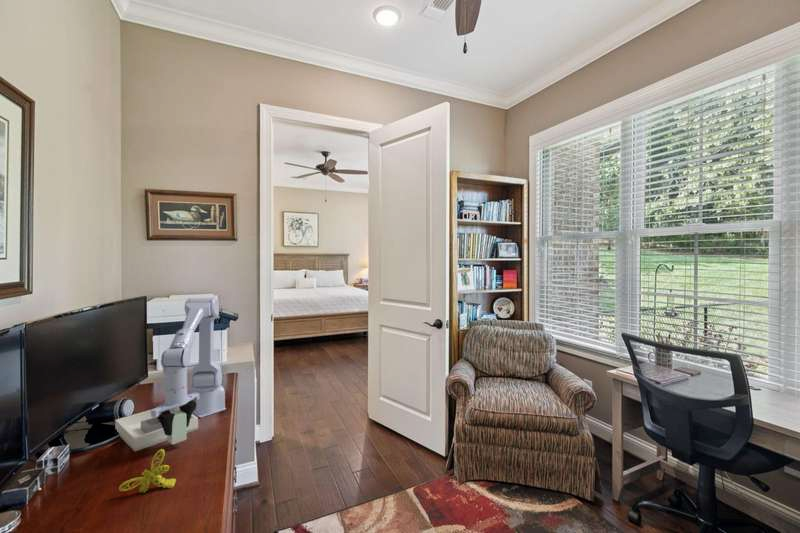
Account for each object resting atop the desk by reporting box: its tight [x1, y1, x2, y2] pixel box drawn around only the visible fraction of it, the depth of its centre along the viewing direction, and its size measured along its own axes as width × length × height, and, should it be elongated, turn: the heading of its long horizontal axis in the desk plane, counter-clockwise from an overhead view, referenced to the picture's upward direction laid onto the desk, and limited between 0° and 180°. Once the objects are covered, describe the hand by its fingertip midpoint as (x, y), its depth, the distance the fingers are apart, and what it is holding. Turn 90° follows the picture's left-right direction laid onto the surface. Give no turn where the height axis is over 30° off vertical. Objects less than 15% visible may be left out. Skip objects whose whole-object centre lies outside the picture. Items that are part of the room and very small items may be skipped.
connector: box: [166, 411, 188, 445], centre depth 110 cm, size 4×4×8 cm
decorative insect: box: [118, 448, 177, 494], centre depth 90 cm, size 12×3×10 cm
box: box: [114, 407, 199, 452], centre depth 120 cm, size 18×20×4 cm
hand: (176, 430), depth 110 cm, fingers closed on connector, 5 cm apart
